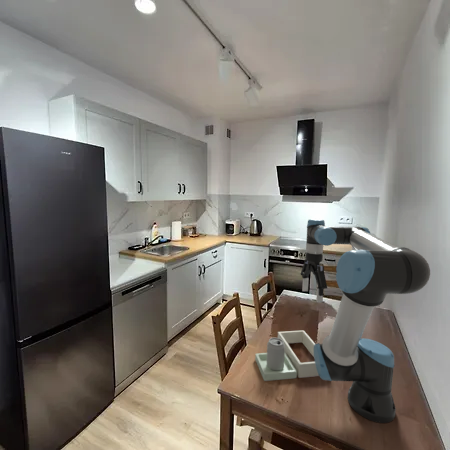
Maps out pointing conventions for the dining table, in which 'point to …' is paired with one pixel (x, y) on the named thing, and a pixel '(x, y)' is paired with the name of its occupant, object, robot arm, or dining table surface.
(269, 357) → the can
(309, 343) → the white rectangular frame
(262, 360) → the tray
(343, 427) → the dining table surface
